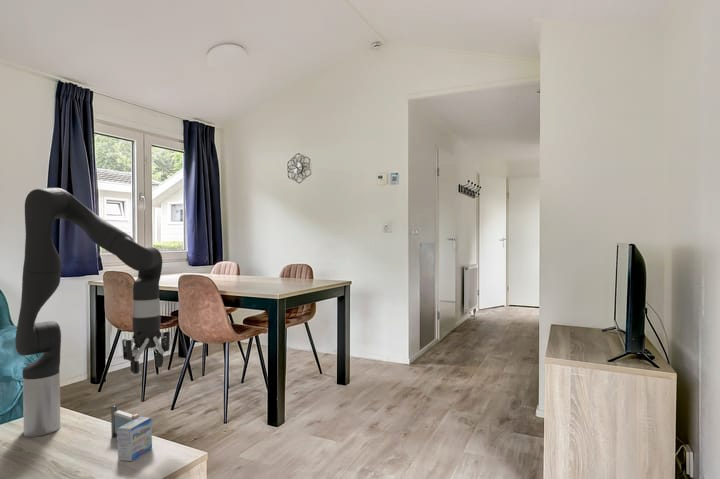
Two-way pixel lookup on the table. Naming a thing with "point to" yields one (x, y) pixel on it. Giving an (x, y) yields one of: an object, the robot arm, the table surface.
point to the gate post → (113, 421)
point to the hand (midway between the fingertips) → (147, 369)
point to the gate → (123, 418)
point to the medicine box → (134, 438)
